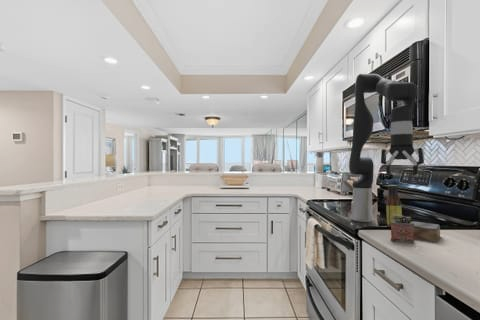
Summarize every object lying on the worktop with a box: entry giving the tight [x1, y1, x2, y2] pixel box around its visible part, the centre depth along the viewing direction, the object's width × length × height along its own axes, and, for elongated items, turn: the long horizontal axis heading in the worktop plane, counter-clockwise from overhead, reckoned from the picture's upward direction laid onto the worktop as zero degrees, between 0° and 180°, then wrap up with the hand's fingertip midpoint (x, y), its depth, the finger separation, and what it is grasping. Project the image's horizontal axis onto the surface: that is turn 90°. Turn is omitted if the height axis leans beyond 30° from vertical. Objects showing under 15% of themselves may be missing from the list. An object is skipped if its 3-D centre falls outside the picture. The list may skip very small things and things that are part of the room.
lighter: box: [390, 215, 415, 244], centre depth 104 cm, size 8×3×10 cm, turn 74°
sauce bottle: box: [385, 184, 403, 228], centre depth 126 cm, size 6×6×20 cm
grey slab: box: [411, 221, 441, 243], centre depth 110 cm, size 10×10×5 cm
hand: (401, 175), depth 104 cm, fingers open, 8 cm apart
